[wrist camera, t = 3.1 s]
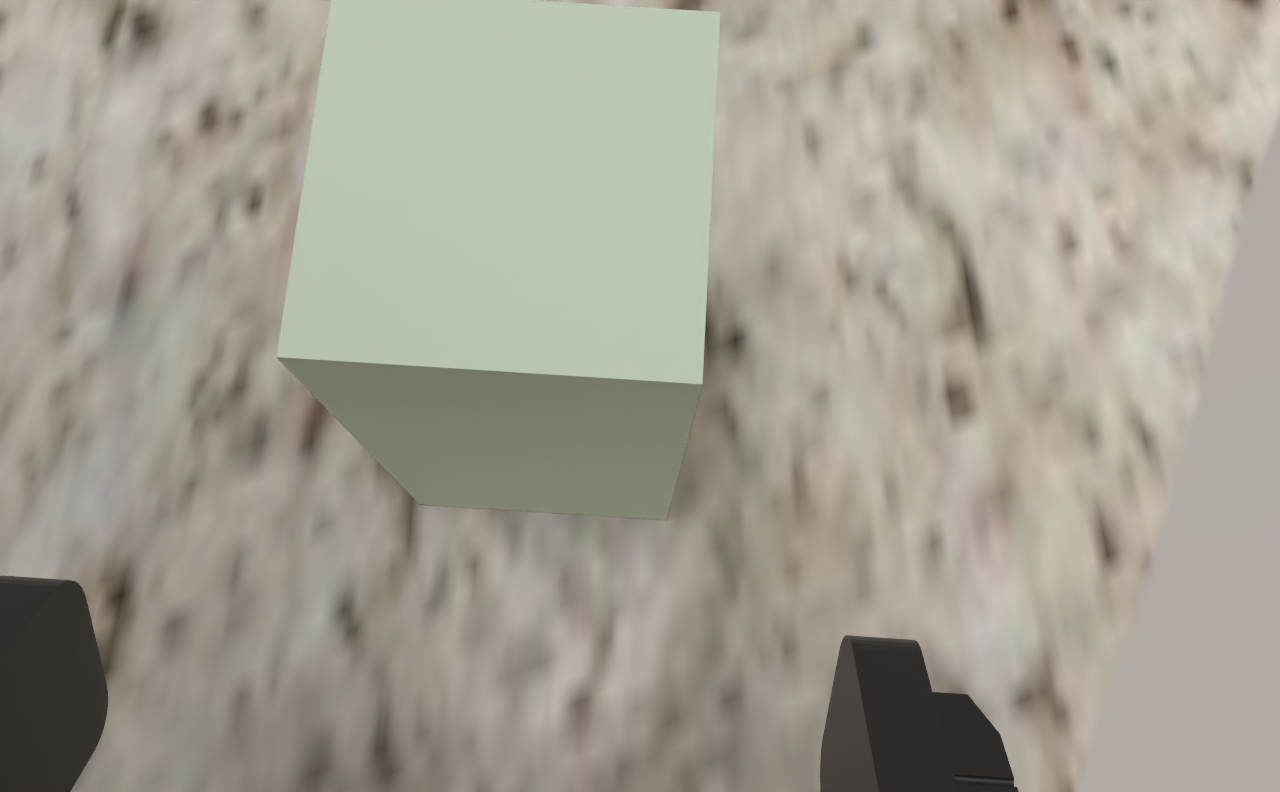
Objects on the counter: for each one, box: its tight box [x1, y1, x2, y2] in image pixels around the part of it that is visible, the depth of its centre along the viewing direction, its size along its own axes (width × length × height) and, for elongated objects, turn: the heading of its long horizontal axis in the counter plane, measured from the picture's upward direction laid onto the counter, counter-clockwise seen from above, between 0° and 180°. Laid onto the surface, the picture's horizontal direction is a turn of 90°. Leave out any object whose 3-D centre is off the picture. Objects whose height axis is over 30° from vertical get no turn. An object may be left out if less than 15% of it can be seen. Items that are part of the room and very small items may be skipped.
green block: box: [276, 0, 720, 520], centre depth 19 cm, size 5×5×10 cm
